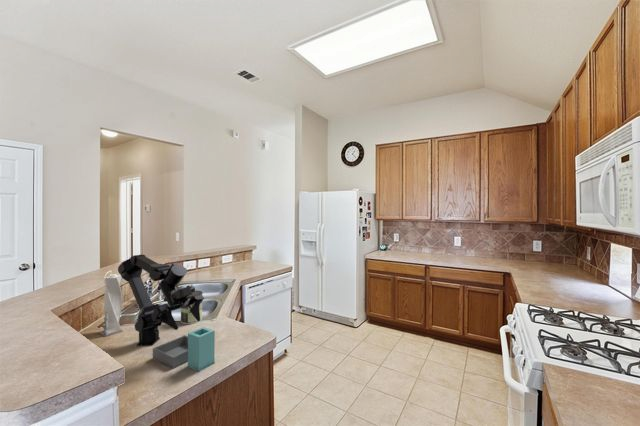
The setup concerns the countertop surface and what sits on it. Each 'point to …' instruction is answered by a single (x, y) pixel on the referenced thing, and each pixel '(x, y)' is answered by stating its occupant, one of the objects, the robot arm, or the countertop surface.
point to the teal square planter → (201, 348)
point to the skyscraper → (112, 304)
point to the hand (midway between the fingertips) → (188, 324)
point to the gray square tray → (172, 352)
